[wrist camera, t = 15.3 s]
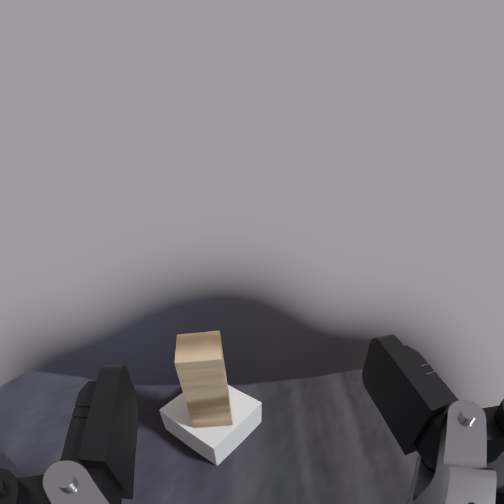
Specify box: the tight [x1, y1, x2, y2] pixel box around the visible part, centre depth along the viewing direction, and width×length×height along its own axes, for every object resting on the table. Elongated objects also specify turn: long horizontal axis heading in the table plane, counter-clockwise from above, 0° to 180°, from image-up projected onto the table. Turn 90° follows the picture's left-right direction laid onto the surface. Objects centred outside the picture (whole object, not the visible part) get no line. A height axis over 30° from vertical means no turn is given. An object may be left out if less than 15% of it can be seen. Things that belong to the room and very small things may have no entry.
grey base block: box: [159, 385, 262, 465], centre depth 41 cm, size 10×10×5 cm
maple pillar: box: [175, 331, 233, 428], centre depth 36 cm, size 5×5×12 cm
